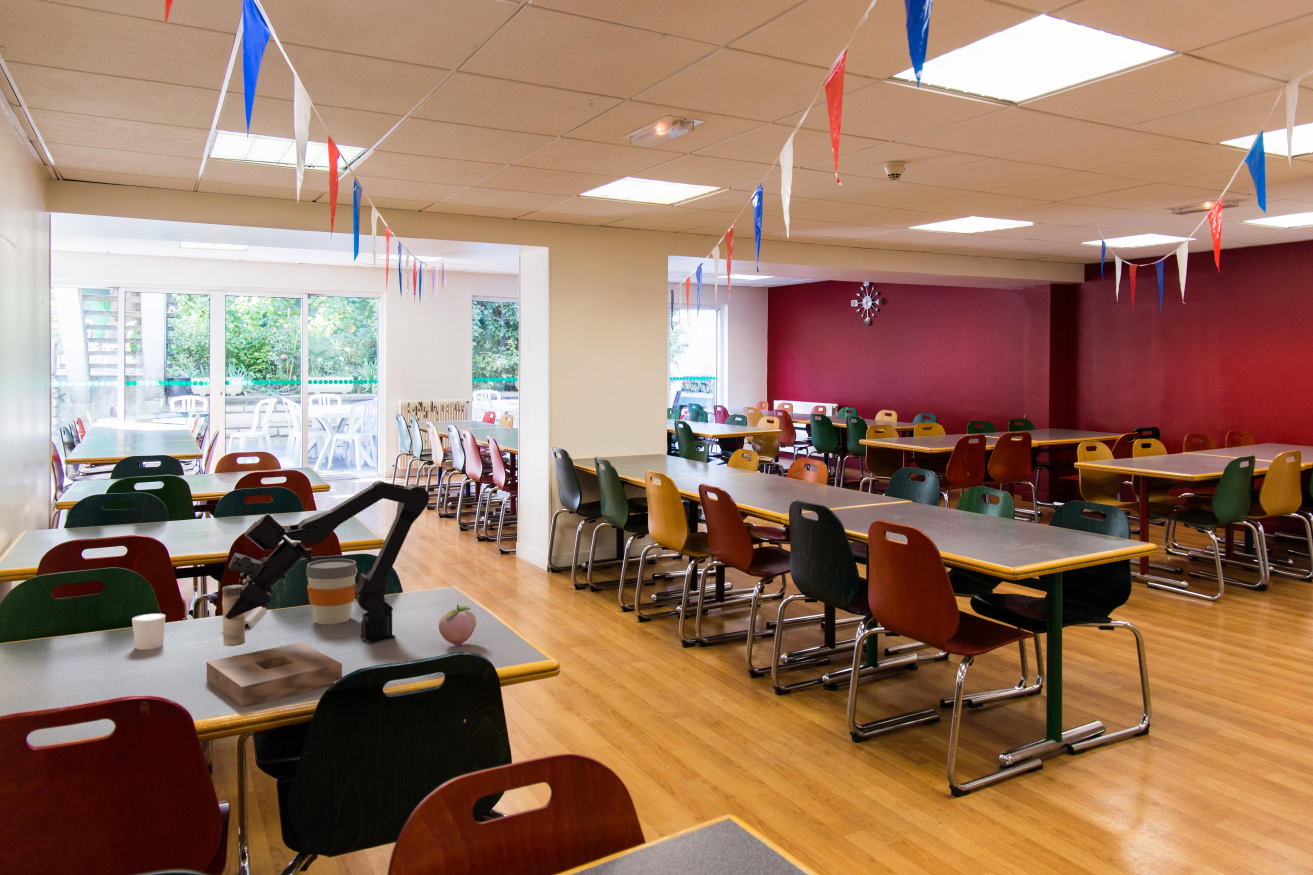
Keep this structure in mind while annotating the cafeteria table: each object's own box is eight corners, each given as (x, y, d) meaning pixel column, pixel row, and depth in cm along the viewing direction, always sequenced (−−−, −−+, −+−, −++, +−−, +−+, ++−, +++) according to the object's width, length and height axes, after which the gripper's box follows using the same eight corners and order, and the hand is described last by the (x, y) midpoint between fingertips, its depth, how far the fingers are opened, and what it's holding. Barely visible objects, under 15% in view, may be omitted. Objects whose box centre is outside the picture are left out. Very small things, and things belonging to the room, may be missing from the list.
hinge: (251, 628, 216) (236, 592, 215) (232, 635, 215) (217, 599, 214) (267, 610, 233) (253, 577, 231) (250, 617, 232) (236, 583, 230)
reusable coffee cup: (322, 611, 232) (321, 557, 231) (365, 614, 231) (365, 559, 230) (296, 624, 220) (296, 567, 219) (342, 627, 218) (342, 569, 217)
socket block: (302, 659, 193) (302, 642, 193) (342, 682, 179) (341, 663, 179) (206, 680, 179) (206, 661, 179) (242, 706, 165) (241, 686, 165)
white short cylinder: (170, 646, 201) (169, 616, 201) (137, 652, 196) (136, 622, 196) (160, 639, 206) (160, 611, 205) (128, 645, 201) (127, 616, 200)
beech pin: (240, 639, 198) (239, 583, 197) (247, 643, 195) (246, 587, 194) (220, 642, 195) (219, 586, 194) (227, 647, 192) (226, 590, 191)
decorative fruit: (449, 638, 210) (449, 598, 210) (480, 641, 209) (480, 600, 208) (431, 650, 201) (431, 608, 200) (464, 652, 199) (464, 610, 199)
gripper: (250, 534, 203) (198, 584, 199) (253, 548, 187) (196, 603, 183) (286, 563, 208) (236, 613, 203) (292, 580, 191) (238, 634, 187)
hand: (226, 615), depth 194 cm, fingers closed on beech pin, 4 cm apart
